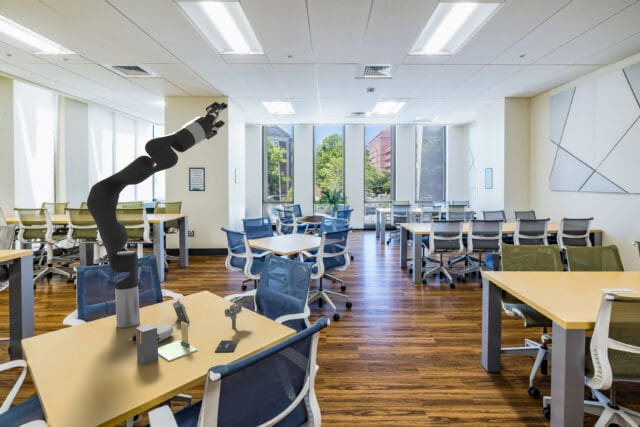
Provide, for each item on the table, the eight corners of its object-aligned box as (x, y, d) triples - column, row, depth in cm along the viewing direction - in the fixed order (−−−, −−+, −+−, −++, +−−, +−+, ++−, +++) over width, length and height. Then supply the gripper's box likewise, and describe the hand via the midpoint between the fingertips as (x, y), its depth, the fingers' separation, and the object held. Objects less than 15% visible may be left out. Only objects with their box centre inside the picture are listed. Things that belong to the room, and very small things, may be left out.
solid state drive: (214, 353, 130) (214, 351, 130) (221, 342, 140) (221, 340, 140) (233, 353, 130) (233, 351, 130) (238, 341, 140) (238, 340, 140)
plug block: (136, 361, 124) (135, 328, 123) (151, 355, 128) (150, 323, 127) (143, 366, 120) (141, 332, 120) (158, 360, 124) (157, 327, 123)
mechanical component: (223, 332, 148) (223, 309, 148) (238, 323, 158) (237, 301, 157) (229, 333, 147) (229, 310, 147) (243, 324, 157) (243, 302, 156)
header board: (152, 350, 132) (151, 326, 131) (180, 341, 140) (179, 317, 139) (168, 361, 123) (167, 335, 123) (197, 350, 132) (196, 326, 131)
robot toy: (126, 347, 137) (164, 345, 136) (125, 336, 136) (162, 334, 136) (143, 334, 149) (178, 332, 148) (142, 324, 149) (177, 322, 148)
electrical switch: (189, 322, 160) (186, 302, 159) (177, 325, 158) (174, 305, 157) (186, 316, 168) (183, 297, 167) (174, 319, 166) (171, 300, 165)
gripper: (202, 151, 131) (229, 132, 142) (206, 121, 120) (234, 103, 131) (186, 140, 131) (214, 122, 142) (188, 110, 121) (218, 93, 132)
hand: (224, 113), depth 137 cm, fingers open, 8 cm apart
